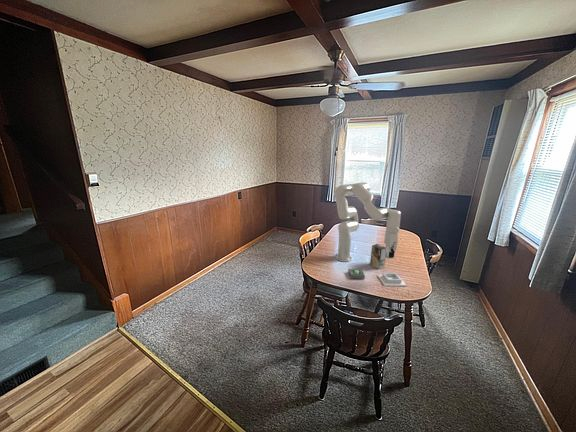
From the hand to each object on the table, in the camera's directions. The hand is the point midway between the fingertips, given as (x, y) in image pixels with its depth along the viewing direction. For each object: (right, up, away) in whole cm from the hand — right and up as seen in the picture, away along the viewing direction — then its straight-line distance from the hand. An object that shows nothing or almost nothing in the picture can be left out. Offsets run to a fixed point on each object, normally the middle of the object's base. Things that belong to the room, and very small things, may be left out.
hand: (389, 255), depth 150 cm
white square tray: (+3, -18, +3) cm, 19 cm away
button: (-19, -16, +9) cm, 27 cm away
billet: (0, -1, 0) cm, 1 cm away
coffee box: (+1, -12, +24) cm, 27 cm away
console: (-19, -16, +9) cm, 27 cm away
